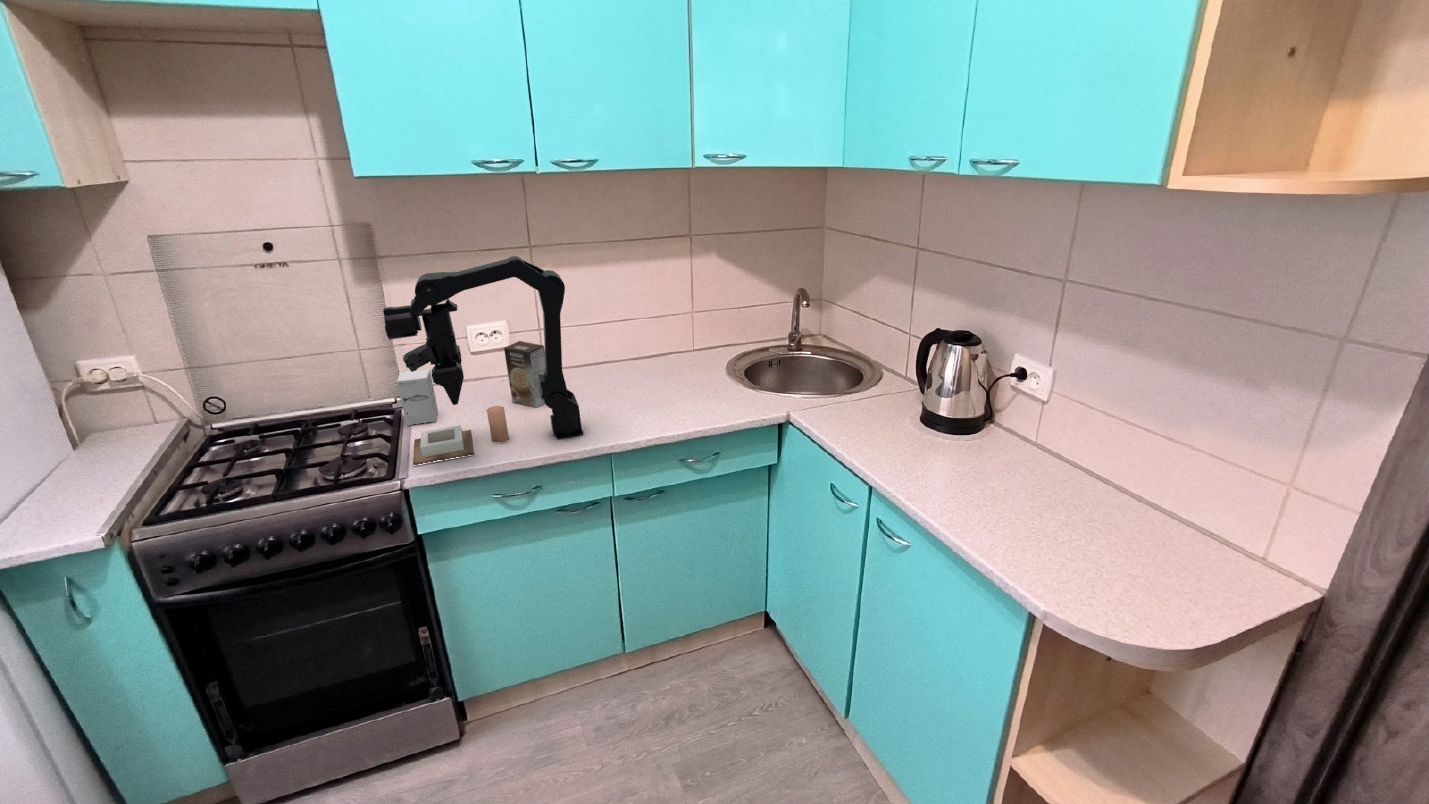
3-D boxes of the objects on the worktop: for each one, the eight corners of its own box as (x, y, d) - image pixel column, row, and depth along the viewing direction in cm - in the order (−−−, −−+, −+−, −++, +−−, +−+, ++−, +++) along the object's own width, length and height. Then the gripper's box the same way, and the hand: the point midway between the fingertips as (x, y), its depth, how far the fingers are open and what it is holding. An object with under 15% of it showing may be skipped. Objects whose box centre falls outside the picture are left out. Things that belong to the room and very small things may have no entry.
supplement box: (406, 426, 172) (395, 381, 167) (409, 415, 179) (399, 371, 174) (436, 422, 174) (426, 377, 169) (439, 411, 180) (430, 367, 175)
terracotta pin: (508, 434, 166) (503, 404, 163) (509, 441, 163) (504, 410, 160) (491, 437, 165) (486, 407, 162) (492, 444, 162) (487, 413, 158)
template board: (471, 433, 167) (469, 420, 166) (473, 455, 156) (471, 442, 155) (415, 442, 163) (412, 429, 162) (413, 466, 152) (410, 453, 151)
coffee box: (511, 402, 185) (502, 347, 178) (527, 394, 190) (518, 340, 183) (536, 408, 181) (528, 351, 174) (552, 399, 186) (544, 344, 179)
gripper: (402, 326, 153) (418, 389, 160) (398, 351, 137) (416, 419, 144) (453, 319, 157) (467, 381, 163) (455, 341, 141) (470, 409, 147)
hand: (454, 397), depth 154 cm, fingers open, 9 cm apart
